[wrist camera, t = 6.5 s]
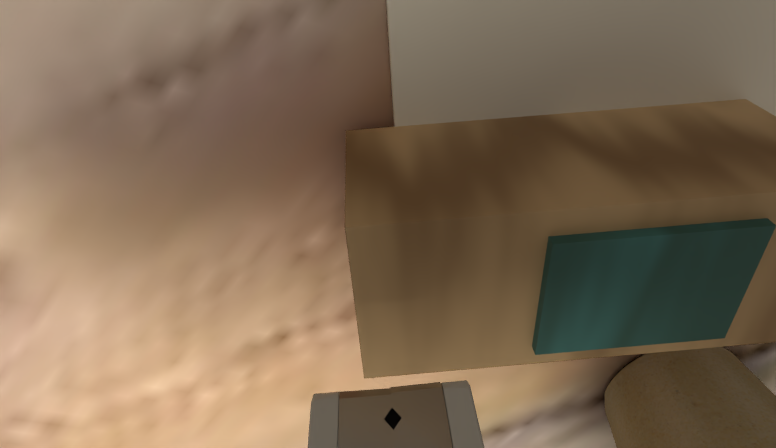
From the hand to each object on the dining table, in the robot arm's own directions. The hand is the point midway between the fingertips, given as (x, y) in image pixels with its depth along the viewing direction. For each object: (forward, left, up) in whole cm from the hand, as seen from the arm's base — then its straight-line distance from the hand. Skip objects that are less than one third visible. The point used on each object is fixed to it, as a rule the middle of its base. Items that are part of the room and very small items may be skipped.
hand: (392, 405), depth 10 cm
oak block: (+1, 0, -5) cm, 5 cm away
